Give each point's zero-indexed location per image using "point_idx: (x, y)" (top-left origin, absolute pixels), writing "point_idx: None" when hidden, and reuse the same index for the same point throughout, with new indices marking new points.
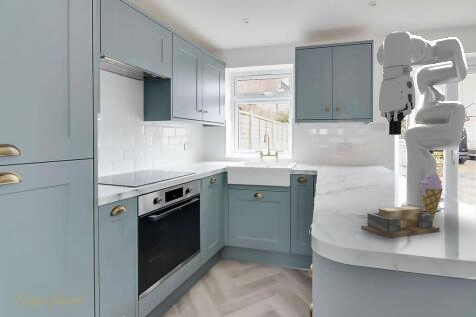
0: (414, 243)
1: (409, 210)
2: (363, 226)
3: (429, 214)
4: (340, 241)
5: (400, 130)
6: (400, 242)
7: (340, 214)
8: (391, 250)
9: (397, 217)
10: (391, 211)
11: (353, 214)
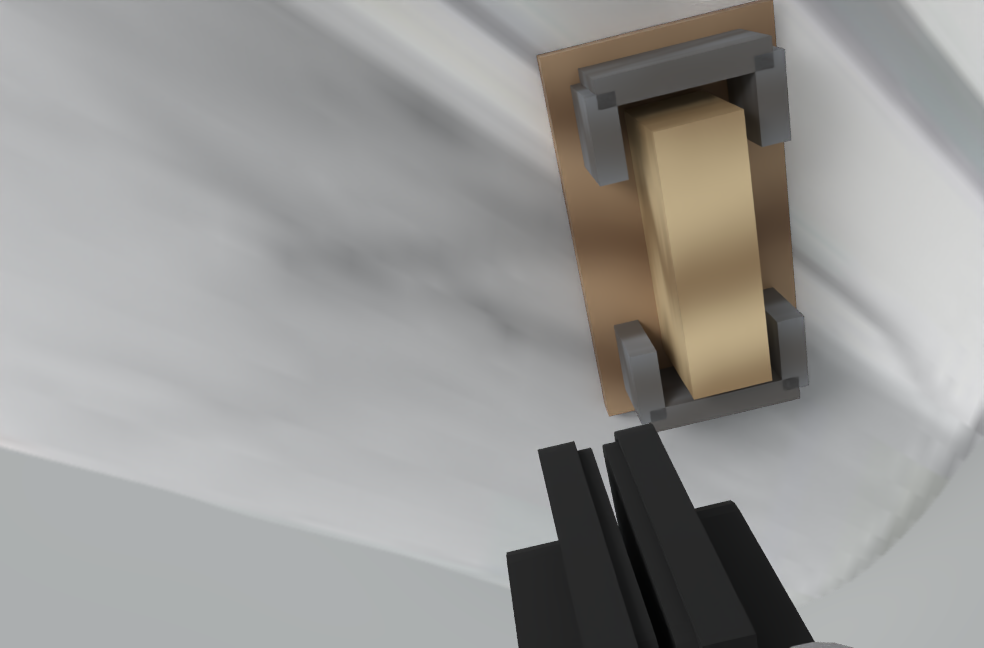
0: (894, 296)
1: (753, 219)
2: (624, 409)
3: (770, 65)
4: (776, 567)
5: (736, 516)
6: (862, 348)
7: (260, 385)
8: (932, 438)
9: (783, 324)
10: (768, 360)
11: (260, 302)
